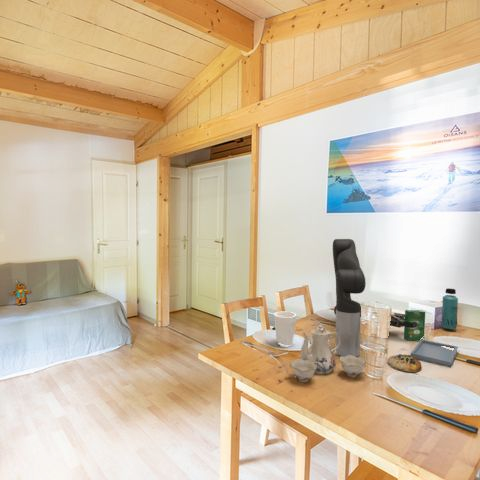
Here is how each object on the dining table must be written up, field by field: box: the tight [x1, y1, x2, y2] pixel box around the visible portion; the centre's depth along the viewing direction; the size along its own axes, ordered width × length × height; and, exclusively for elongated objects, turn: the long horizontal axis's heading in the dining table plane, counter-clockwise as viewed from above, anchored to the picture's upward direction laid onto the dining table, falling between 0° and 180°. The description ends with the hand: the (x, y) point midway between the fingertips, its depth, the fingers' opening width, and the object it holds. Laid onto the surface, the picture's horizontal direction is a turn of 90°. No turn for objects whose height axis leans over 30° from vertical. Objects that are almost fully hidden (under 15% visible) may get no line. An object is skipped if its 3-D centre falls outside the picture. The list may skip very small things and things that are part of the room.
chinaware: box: [286, 323, 366, 383], centre depth 113 cm, size 28×17×17 cm, turn 106°
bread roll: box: [386, 353, 423, 374], centre depth 119 cm, size 11×11×5 cm
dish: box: [410, 339, 459, 369], centre depth 129 cm, size 19×13×2 cm
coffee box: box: [403, 309, 426, 342], centre depth 145 cm, size 8×3×13 cm, turn 93°
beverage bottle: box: [441, 288, 459, 330], centre depth 158 cm, size 6×7×20 cm
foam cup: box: [273, 310, 297, 345], centre depth 139 cm, size 10×9×13 cm
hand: (415, 323), depth 145 cm, fingers open, 8 cm apart
